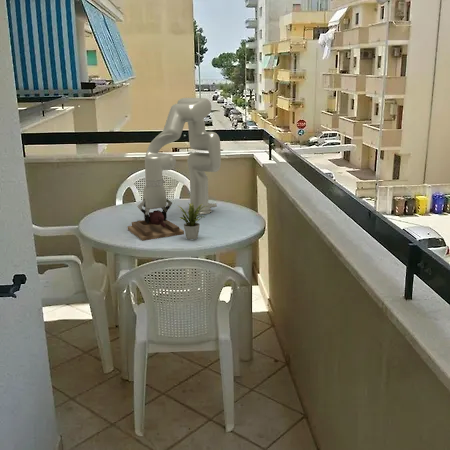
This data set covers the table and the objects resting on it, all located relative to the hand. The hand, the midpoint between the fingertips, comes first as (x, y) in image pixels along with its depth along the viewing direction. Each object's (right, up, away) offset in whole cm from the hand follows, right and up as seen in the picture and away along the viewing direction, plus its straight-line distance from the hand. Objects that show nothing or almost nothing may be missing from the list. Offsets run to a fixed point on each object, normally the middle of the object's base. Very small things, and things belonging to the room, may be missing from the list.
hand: (155, 221), depth 232 cm
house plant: (+18, -8, -8) cm, 21 cm away
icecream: (0, -2, 0) cm, 2 cm away
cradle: (-1, -5, +2) cm, 5 cm away
